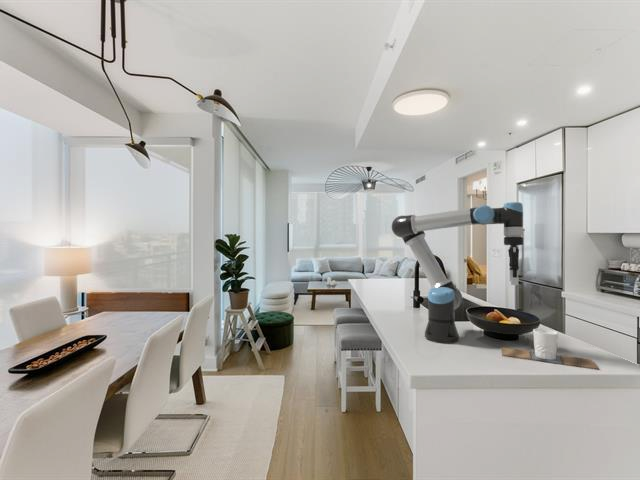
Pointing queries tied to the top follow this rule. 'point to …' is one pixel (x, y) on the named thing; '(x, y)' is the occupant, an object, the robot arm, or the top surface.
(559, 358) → the board
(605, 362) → the top surface
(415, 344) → the top surface
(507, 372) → the top surface
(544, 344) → the white cup
